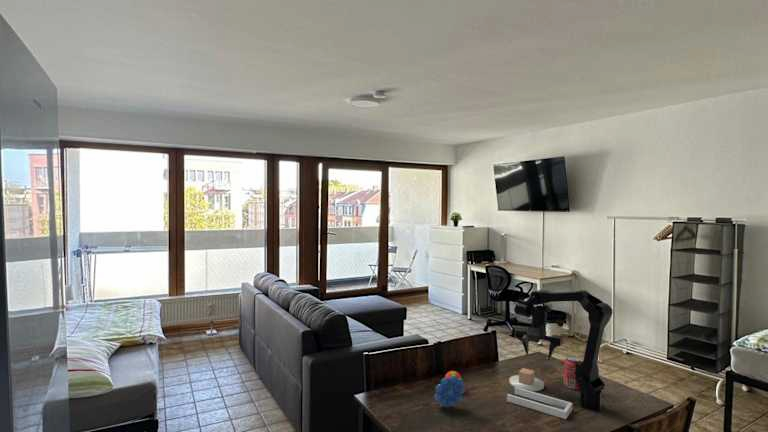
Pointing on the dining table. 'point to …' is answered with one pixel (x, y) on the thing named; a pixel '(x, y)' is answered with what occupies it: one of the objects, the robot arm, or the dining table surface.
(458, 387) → the grapes
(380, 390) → the dining table surface
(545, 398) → the channel
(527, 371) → the block
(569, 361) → the soda can
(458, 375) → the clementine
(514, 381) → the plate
